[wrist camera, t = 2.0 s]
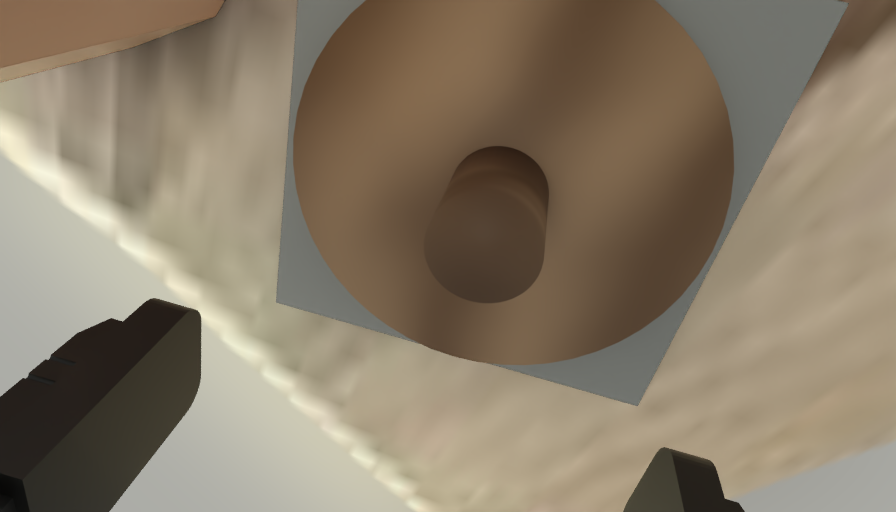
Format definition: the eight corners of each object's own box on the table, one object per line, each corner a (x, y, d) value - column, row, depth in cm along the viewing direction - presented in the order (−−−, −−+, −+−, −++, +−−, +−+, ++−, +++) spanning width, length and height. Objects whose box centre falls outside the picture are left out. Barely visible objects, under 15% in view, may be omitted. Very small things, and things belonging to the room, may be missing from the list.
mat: (842, 1, 16) (848, 3, 15) (636, 399, 23) (637, 406, 23) (312, -130, 16) (307, -131, 16) (280, 297, 24) (276, 302, 24)
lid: (820, 18, 16) (909, 49, 12) (629, 392, 23) (642, 495, 19) (322, -106, 16) (239, -118, 12) (289, 295, 24) (229, 373, 19)
